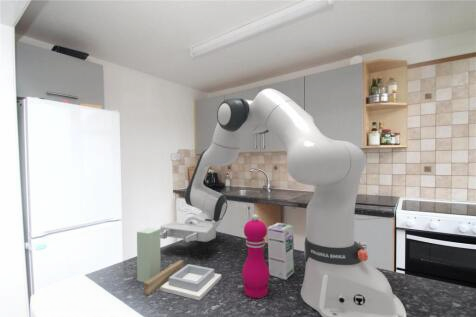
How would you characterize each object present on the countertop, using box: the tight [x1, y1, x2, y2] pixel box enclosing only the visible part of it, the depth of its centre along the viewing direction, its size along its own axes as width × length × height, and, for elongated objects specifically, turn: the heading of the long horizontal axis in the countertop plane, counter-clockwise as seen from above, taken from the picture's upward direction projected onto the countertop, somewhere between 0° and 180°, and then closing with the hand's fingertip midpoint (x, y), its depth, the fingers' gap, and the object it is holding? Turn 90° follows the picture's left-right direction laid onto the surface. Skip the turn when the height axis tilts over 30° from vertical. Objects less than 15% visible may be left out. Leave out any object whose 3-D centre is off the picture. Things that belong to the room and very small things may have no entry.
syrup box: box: [267, 222, 295, 281], centre depth 72 cm, size 6×6×14 cm
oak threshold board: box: [143, 259, 185, 296], centre depth 69 cm, size 2×15×3 cm, turn 157°
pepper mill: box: [241, 214, 271, 299], centre depth 63 cm, size 7×7×20 cm
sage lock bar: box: [136, 227, 162, 283], centre depth 70 cm, size 4×4×14 cm
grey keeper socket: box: [159, 263, 223, 301], centre depth 67 cm, size 12×12×3 cm
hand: (173, 238), depth 81 cm, fingers open, 8 cm apart
